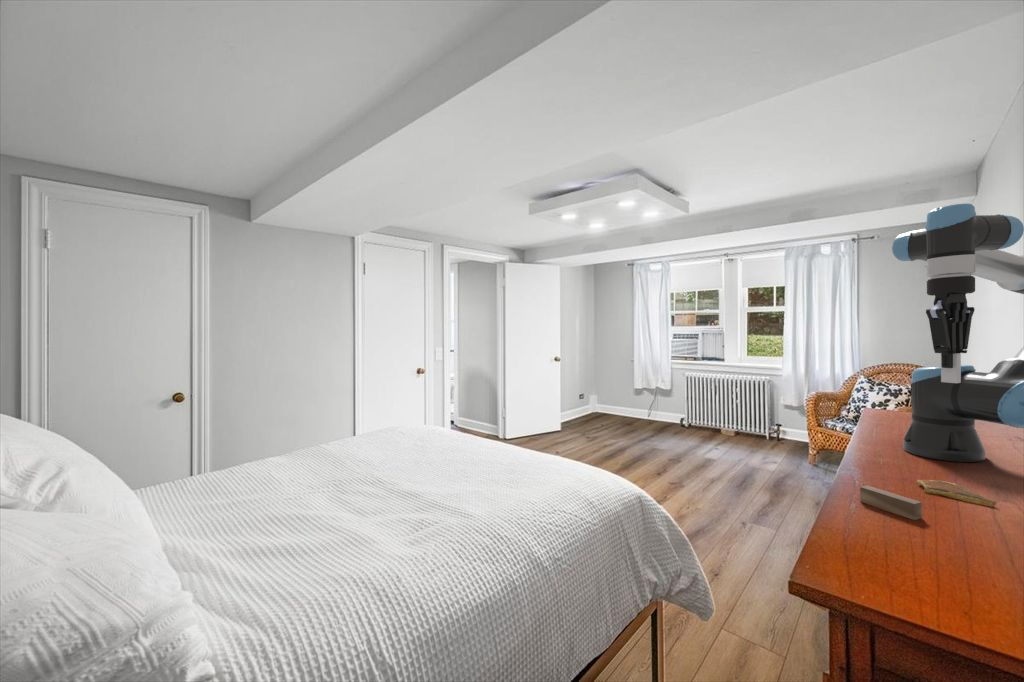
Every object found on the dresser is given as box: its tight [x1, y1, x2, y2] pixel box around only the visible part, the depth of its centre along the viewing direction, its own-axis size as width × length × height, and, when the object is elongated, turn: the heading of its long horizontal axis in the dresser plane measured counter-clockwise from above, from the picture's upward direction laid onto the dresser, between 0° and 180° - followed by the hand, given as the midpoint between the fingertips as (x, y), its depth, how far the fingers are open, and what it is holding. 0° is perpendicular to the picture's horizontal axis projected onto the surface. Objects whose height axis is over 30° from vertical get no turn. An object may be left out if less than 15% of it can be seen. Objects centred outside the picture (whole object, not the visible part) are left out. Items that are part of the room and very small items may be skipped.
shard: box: [916, 479, 997, 508], centre depth 87 cm, size 11×8×2 cm
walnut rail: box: [859, 485, 923, 521], centre depth 82 cm, size 2×9×3 cm, turn 19°
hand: (950, 382), depth 95 cm, fingers closed
